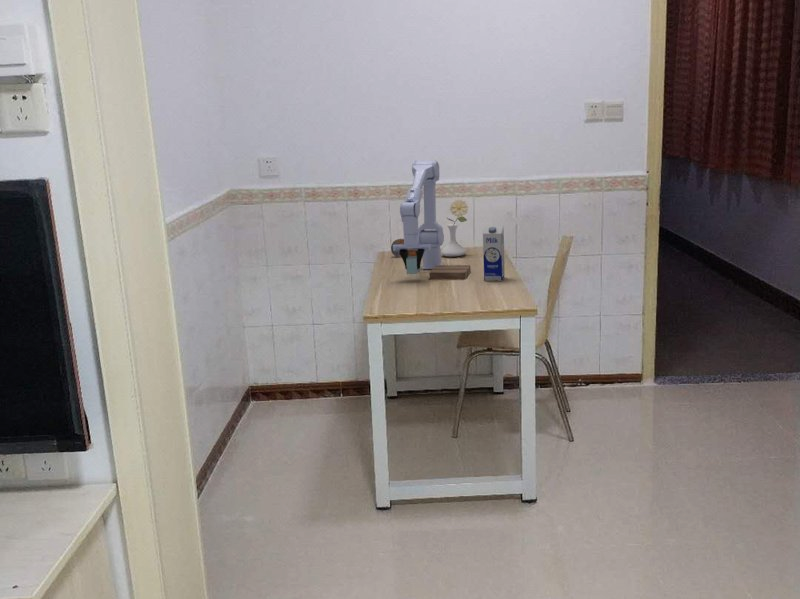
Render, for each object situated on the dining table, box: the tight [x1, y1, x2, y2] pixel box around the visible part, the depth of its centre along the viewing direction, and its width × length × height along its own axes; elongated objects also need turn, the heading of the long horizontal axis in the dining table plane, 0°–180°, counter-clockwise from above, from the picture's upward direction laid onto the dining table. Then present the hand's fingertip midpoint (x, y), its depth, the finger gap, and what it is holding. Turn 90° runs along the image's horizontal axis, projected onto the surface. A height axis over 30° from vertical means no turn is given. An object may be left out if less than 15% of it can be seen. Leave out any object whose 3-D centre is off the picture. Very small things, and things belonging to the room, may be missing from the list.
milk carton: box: [482, 225, 506, 281], centre depth 298 cm, size 7×7×20 cm
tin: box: [390, 238, 418, 259], centre depth 353 cm, size 15×3×8 cm, turn 77°
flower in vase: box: [440, 198, 469, 258], centre depth 347 cm, size 13×11×25 cm
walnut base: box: [428, 264, 471, 280], centre depth 311 cm, size 14×14×2 cm
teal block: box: [406, 257, 420, 275], centre depth 304 cm, size 4×4×6 cm
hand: (412, 268), depth 304 cm, fingers closed on teal block, 4 cm apart
